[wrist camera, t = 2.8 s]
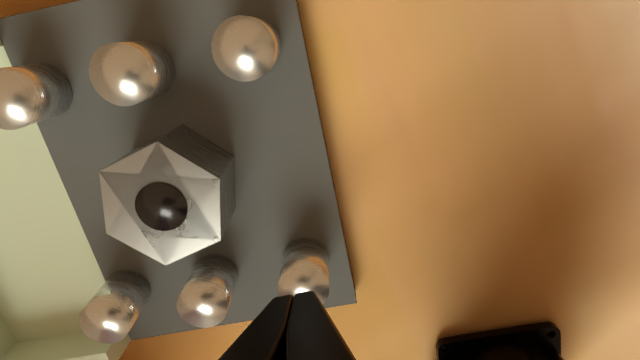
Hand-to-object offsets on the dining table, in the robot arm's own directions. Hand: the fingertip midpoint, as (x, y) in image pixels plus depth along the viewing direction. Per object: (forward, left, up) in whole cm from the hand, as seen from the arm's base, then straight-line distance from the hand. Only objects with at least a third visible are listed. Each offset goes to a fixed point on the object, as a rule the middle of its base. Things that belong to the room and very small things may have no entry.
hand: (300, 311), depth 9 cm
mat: (+5, 0, -12) cm, 13 cm away
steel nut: (+6, 0, -11) cm, 12 cm away
